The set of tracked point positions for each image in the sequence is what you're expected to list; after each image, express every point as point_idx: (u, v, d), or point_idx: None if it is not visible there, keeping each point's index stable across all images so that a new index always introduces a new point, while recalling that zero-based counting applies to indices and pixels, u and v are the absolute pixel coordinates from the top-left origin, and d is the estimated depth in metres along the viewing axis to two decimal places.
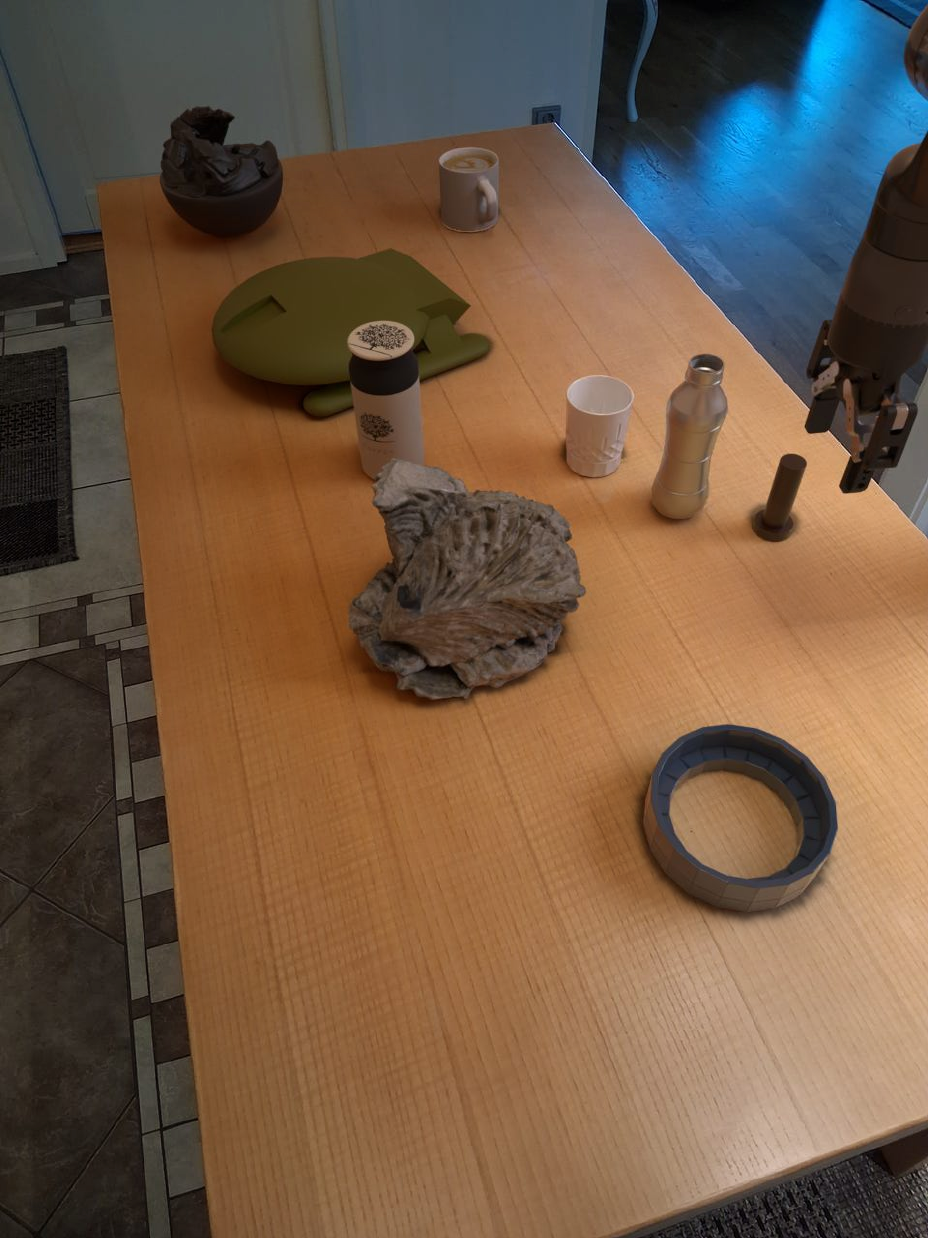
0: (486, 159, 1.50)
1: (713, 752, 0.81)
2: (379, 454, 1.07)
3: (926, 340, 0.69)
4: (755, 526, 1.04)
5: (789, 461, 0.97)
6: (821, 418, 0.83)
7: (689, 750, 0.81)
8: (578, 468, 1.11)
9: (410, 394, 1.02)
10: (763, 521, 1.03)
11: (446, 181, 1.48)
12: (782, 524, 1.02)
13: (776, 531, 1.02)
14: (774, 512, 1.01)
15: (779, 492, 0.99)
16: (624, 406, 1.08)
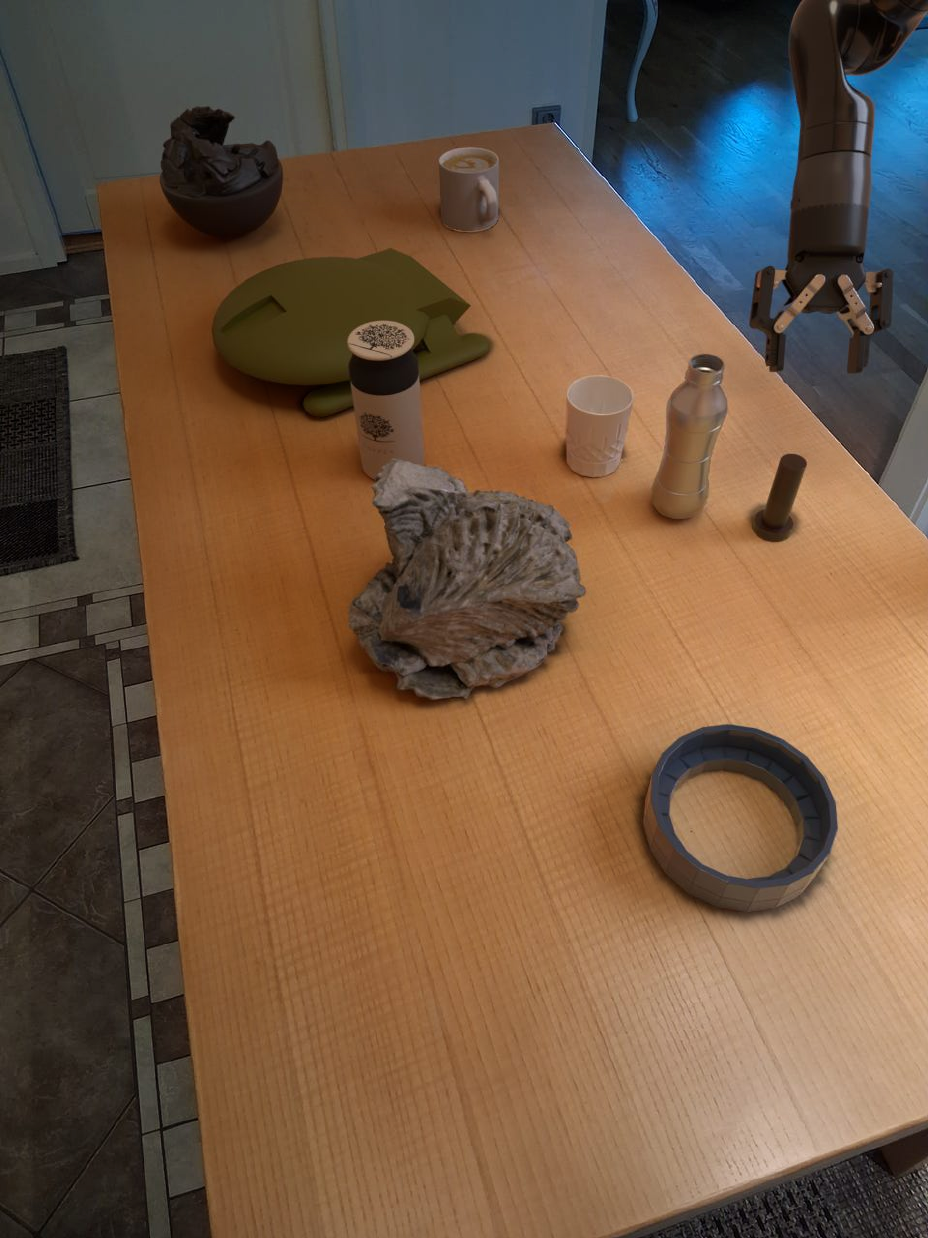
0: (486, 159, 1.50)
1: (713, 752, 0.81)
2: (379, 454, 1.07)
3: (806, 227, 0.90)
4: (755, 526, 1.04)
5: (789, 461, 0.97)
6: (852, 356, 0.95)
7: (689, 750, 0.81)
8: (578, 468, 1.11)
9: (410, 394, 1.02)
10: (763, 521, 1.03)
11: (446, 181, 1.48)
12: (782, 524, 1.02)
13: (776, 531, 1.02)
14: (774, 512, 1.01)
15: (779, 492, 0.99)
16: (624, 406, 1.08)
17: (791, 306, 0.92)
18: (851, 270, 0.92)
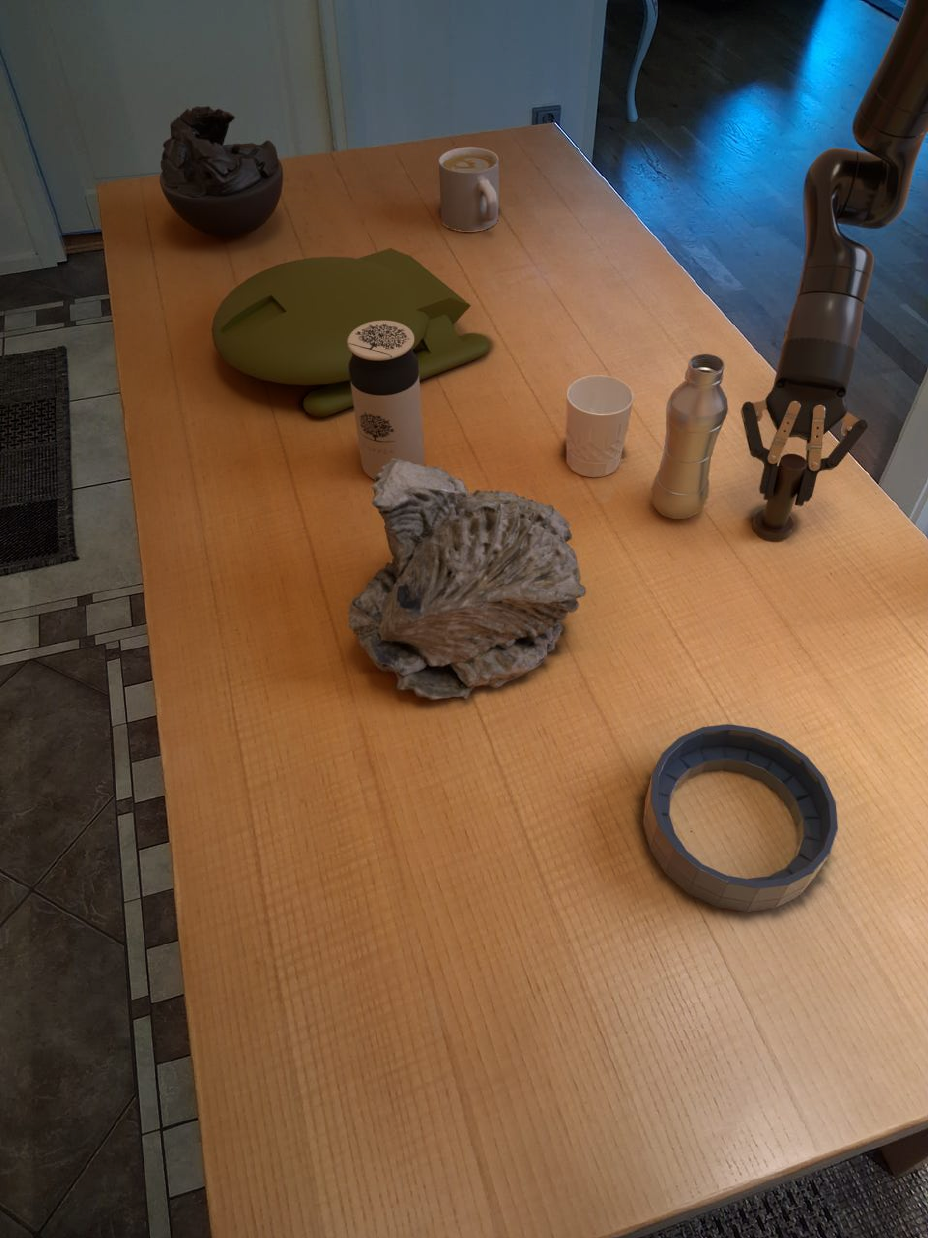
0: (486, 159, 1.50)
1: (713, 752, 0.81)
2: (379, 454, 1.07)
3: (787, 356, 0.96)
4: (755, 526, 1.04)
5: (789, 461, 0.97)
6: (798, 489, 0.98)
7: (689, 750, 0.81)
8: (578, 468, 1.11)
9: (410, 394, 1.02)
10: (763, 521, 1.03)
11: (446, 181, 1.48)
12: (782, 524, 1.02)
13: (776, 531, 1.02)
14: (774, 512, 1.01)
15: (779, 492, 0.99)
16: (624, 406, 1.08)
17: (776, 437, 0.97)
18: (834, 400, 0.96)
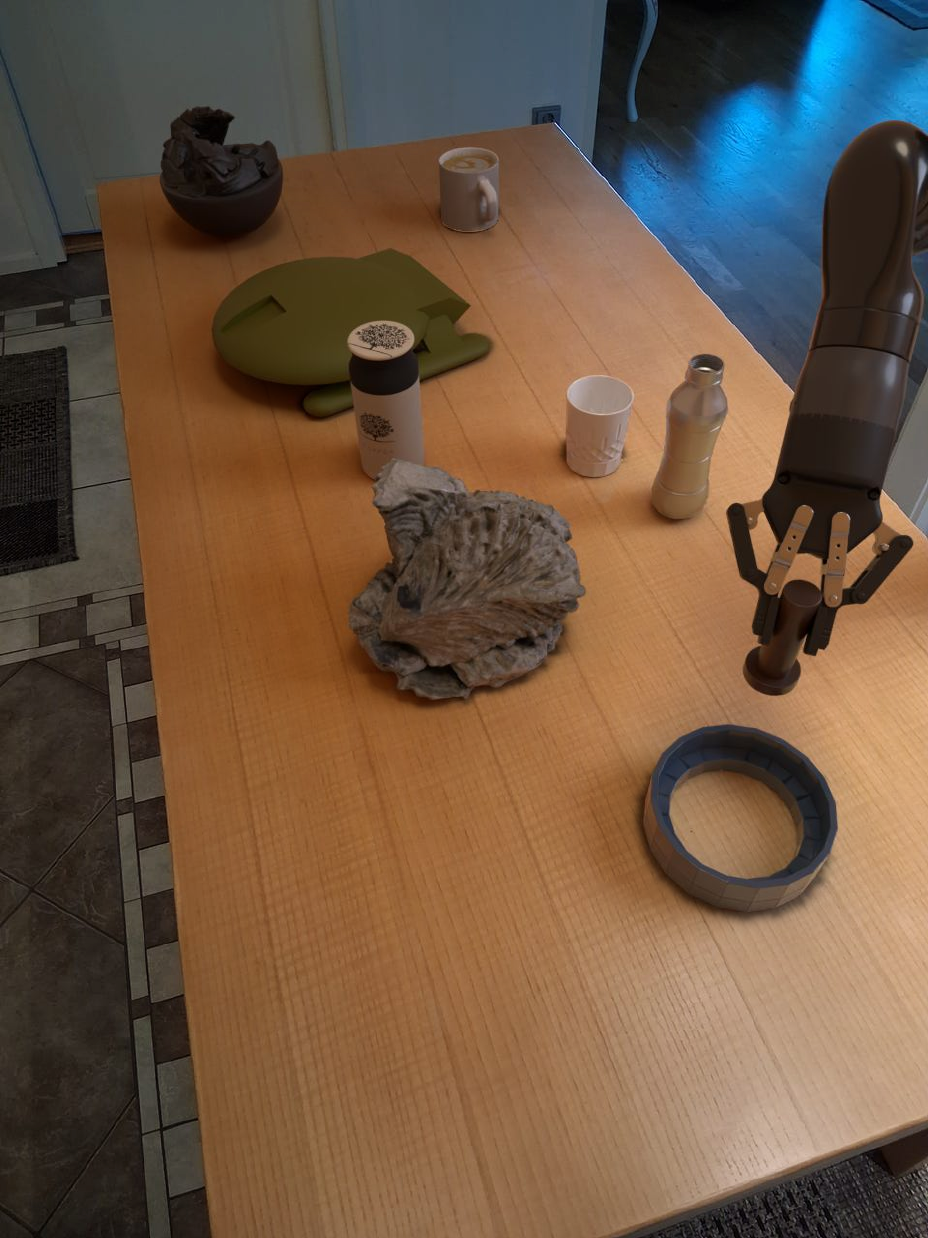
0: (486, 159, 1.50)
1: (713, 752, 0.81)
2: (379, 454, 1.07)
3: (795, 440, 0.65)
4: (746, 673, 0.73)
5: (796, 592, 0.66)
6: (809, 631, 0.67)
7: (689, 750, 0.81)
8: (578, 468, 1.11)
9: (410, 394, 1.02)
10: (758, 667, 0.72)
11: (446, 181, 1.48)
12: (785, 673, 0.71)
13: (776, 683, 0.71)
14: (774, 658, 0.70)
15: (781, 634, 0.68)
16: (624, 406, 1.08)
17: (777, 557, 0.66)
18: (864, 505, 0.65)
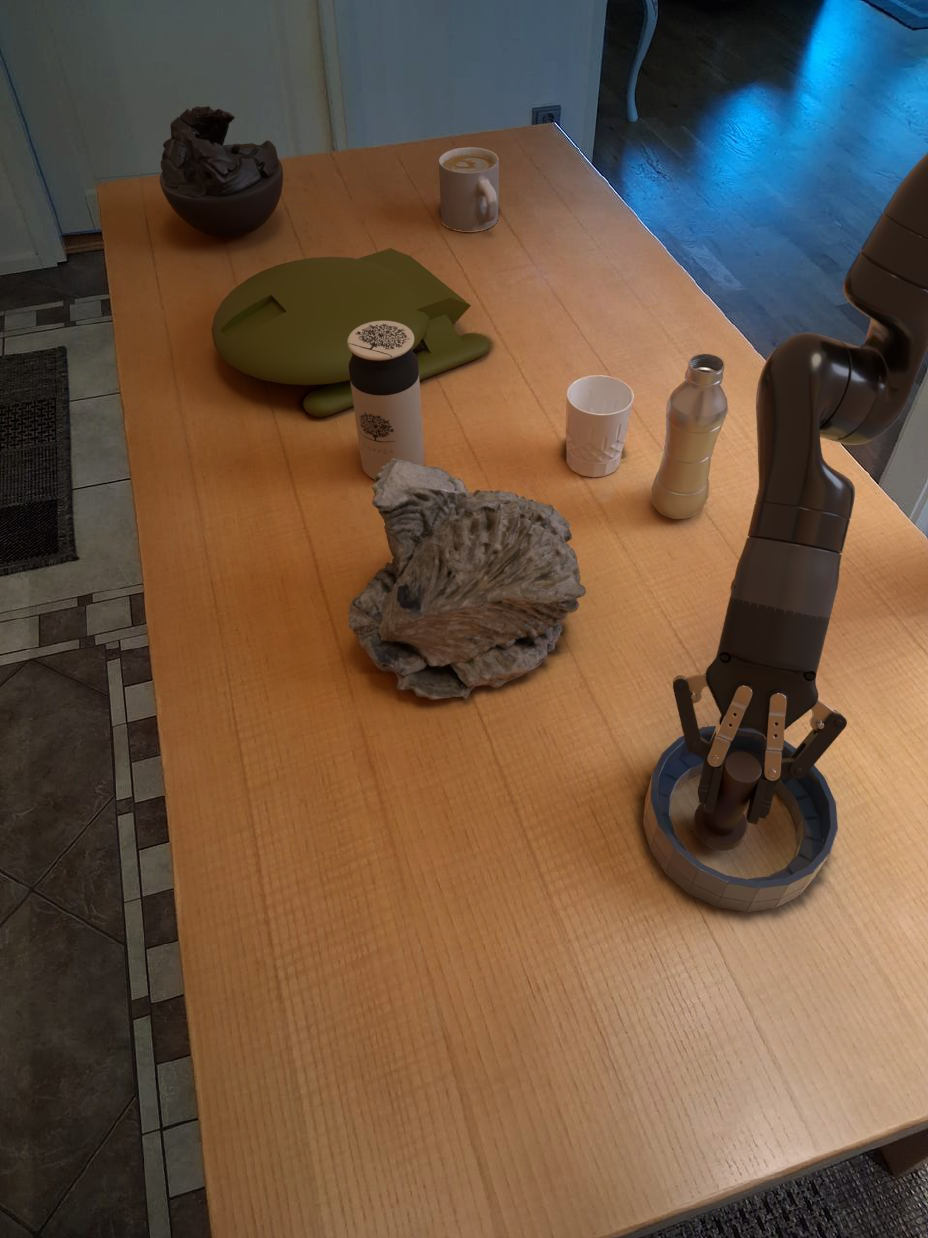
0: (486, 159, 1.50)
1: None
2: (379, 454, 1.07)
3: (734, 624, 0.68)
4: (695, 828, 0.76)
5: (737, 766, 0.69)
6: (751, 799, 0.71)
7: None
8: (578, 468, 1.11)
9: (410, 394, 1.02)
10: (706, 823, 0.76)
11: (446, 181, 1.48)
12: (731, 830, 0.75)
13: (723, 839, 0.75)
14: (720, 819, 0.73)
15: (724, 801, 0.71)
16: (624, 406, 1.08)
17: (719, 733, 0.69)
18: (800, 686, 0.68)
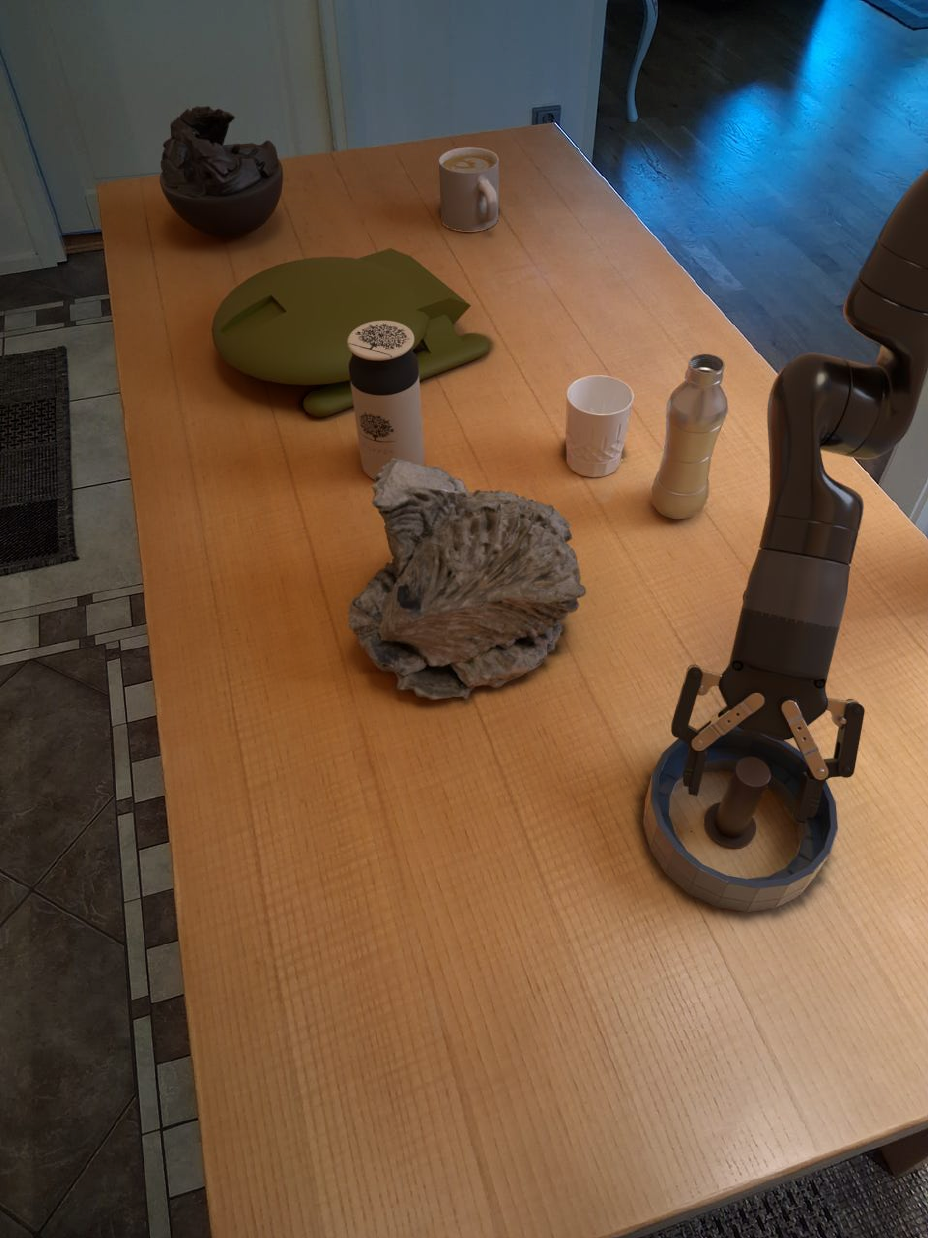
0: (486, 159, 1.50)
1: (713, 752, 0.81)
2: (379, 454, 1.07)
3: (747, 634, 0.70)
4: None
5: (747, 771, 0.72)
6: (799, 798, 0.72)
7: None
8: (578, 468, 1.11)
9: (410, 394, 1.02)
10: (716, 826, 0.78)
11: (446, 181, 1.48)
12: (741, 833, 0.77)
13: (733, 842, 0.77)
14: (729, 822, 0.76)
15: (734, 804, 0.74)
16: (624, 406, 1.08)
17: (716, 723, 0.72)
18: (806, 695, 0.71)
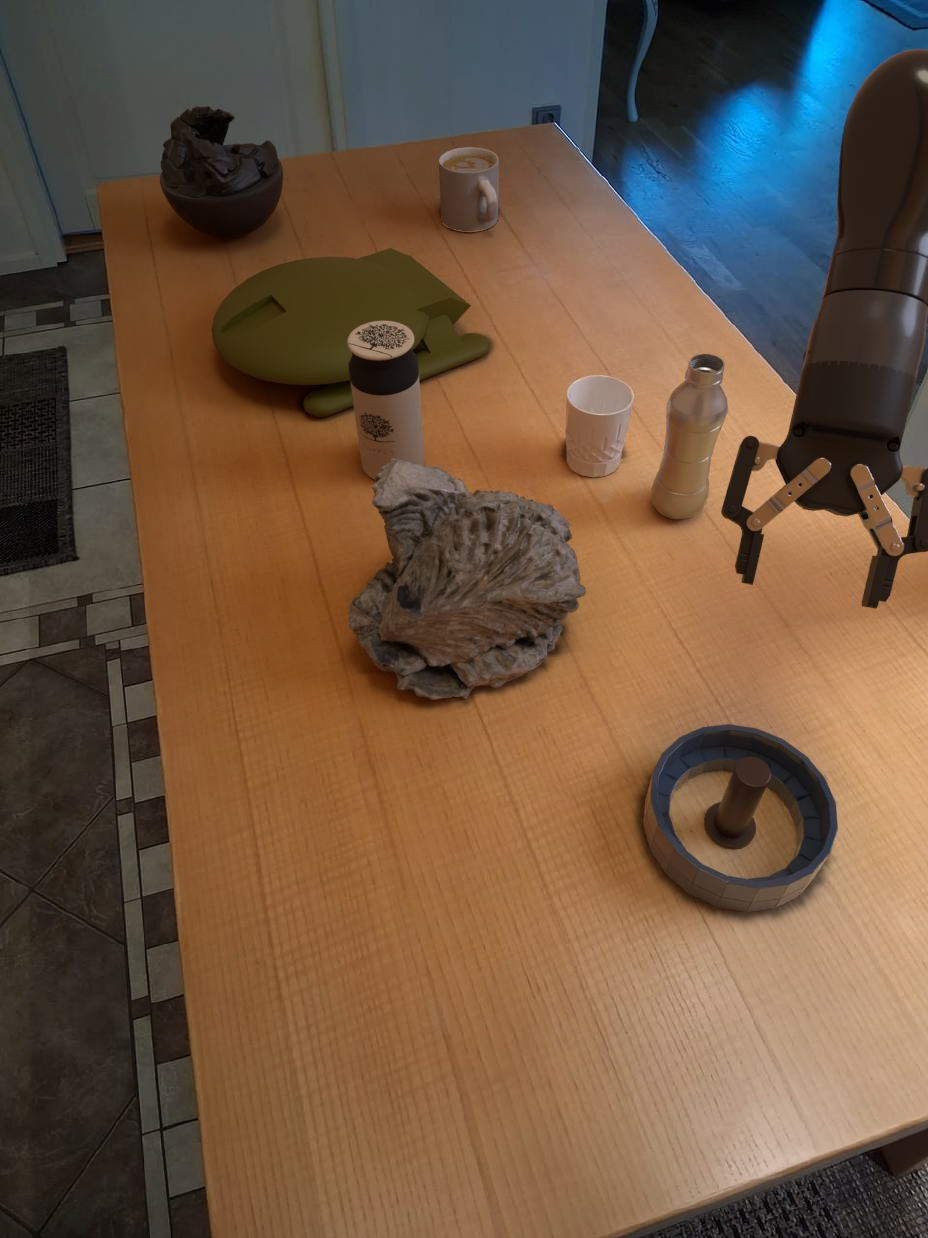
0: (486, 159, 1.50)
1: (713, 752, 0.81)
2: (379, 454, 1.07)
3: (810, 389, 0.62)
4: None
5: (747, 771, 0.72)
6: (869, 583, 0.64)
7: (689, 750, 0.81)
8: (578, 468, 1.11)
9: (410, 394, 1.02)
10: (716, 826, 0.78)
11: (446, 181, 1.48)
12: (741, 833, 0.77)
13: (733, 842, 0.77)
14: (729, 822, 0.76)
15: (734, 804, 0.74)
16: (624, 406, 1.08)
17: (774, 497, 0.63)
18: (878, 460, 0.62)
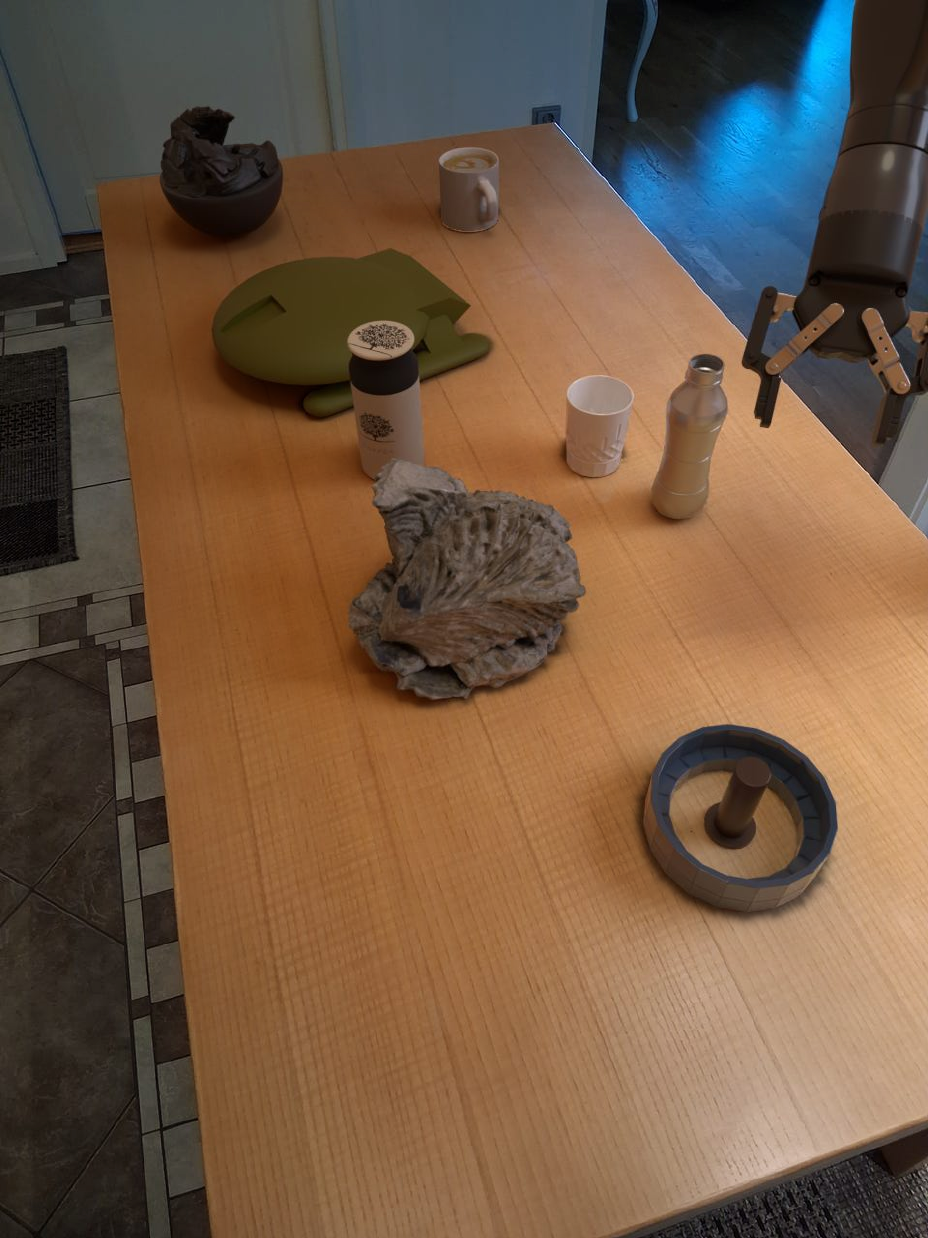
0: (486, 159, 1.50)
1: (713, 752, 0.81)
2: (379, 454, 1.07)
3: (825, 240, 0.67)
4: None
5: (747, 771, 0.72)
6: (877, 422, 0.69)
7: (689, 750, 0.81)
8: (578, 468, 1.11)
9: (410, 394, 1.02)
10: (716, 826, 0.78)
11: (446, 181, 1.48)
12: (741, 833, 0.77)
13: (733, 842, 0.77)
14: (729, 822, 0.76)
15: (734, 804, 0.74)
16: (624, 406, 1.08)
17: (791, 341, 0.69)
18: (887, 305, 0.68)
